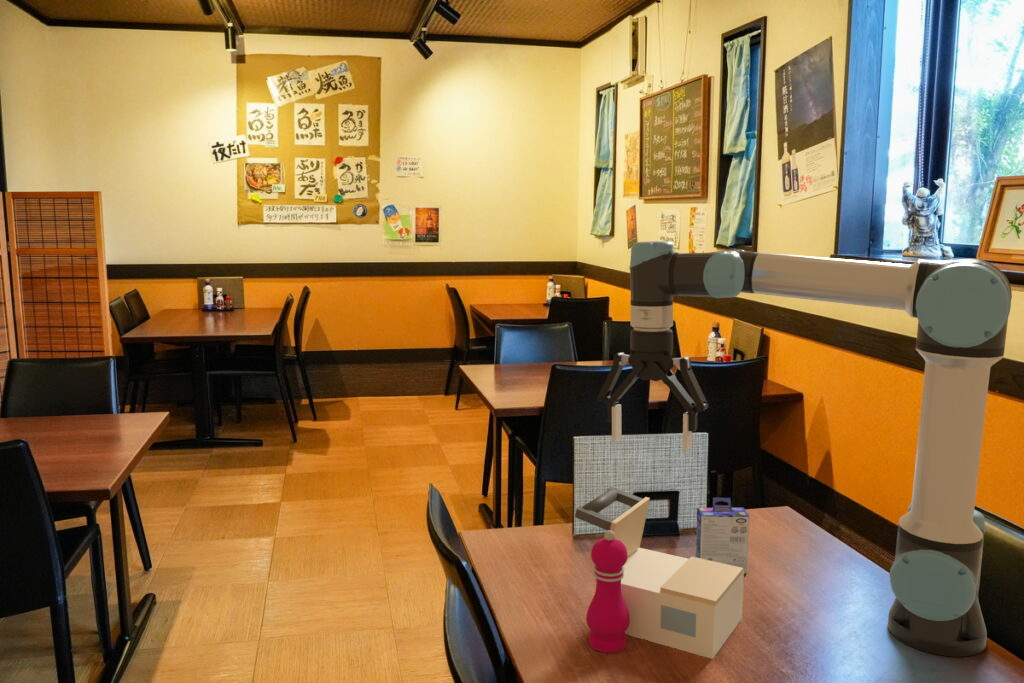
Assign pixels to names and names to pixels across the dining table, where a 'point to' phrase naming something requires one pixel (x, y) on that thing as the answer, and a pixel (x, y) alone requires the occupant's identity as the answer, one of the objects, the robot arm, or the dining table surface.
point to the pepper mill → (608, 596)
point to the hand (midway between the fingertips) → (651, 444)
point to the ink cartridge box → (723, 534)
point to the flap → (626, 524)
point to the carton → (682, 600)
